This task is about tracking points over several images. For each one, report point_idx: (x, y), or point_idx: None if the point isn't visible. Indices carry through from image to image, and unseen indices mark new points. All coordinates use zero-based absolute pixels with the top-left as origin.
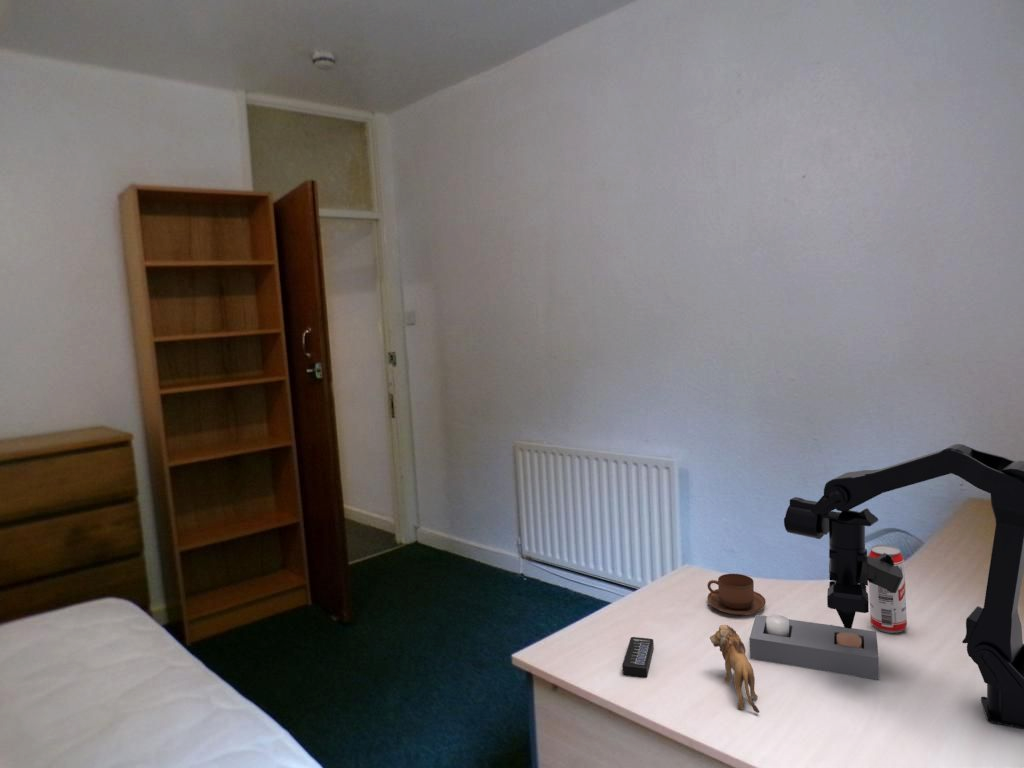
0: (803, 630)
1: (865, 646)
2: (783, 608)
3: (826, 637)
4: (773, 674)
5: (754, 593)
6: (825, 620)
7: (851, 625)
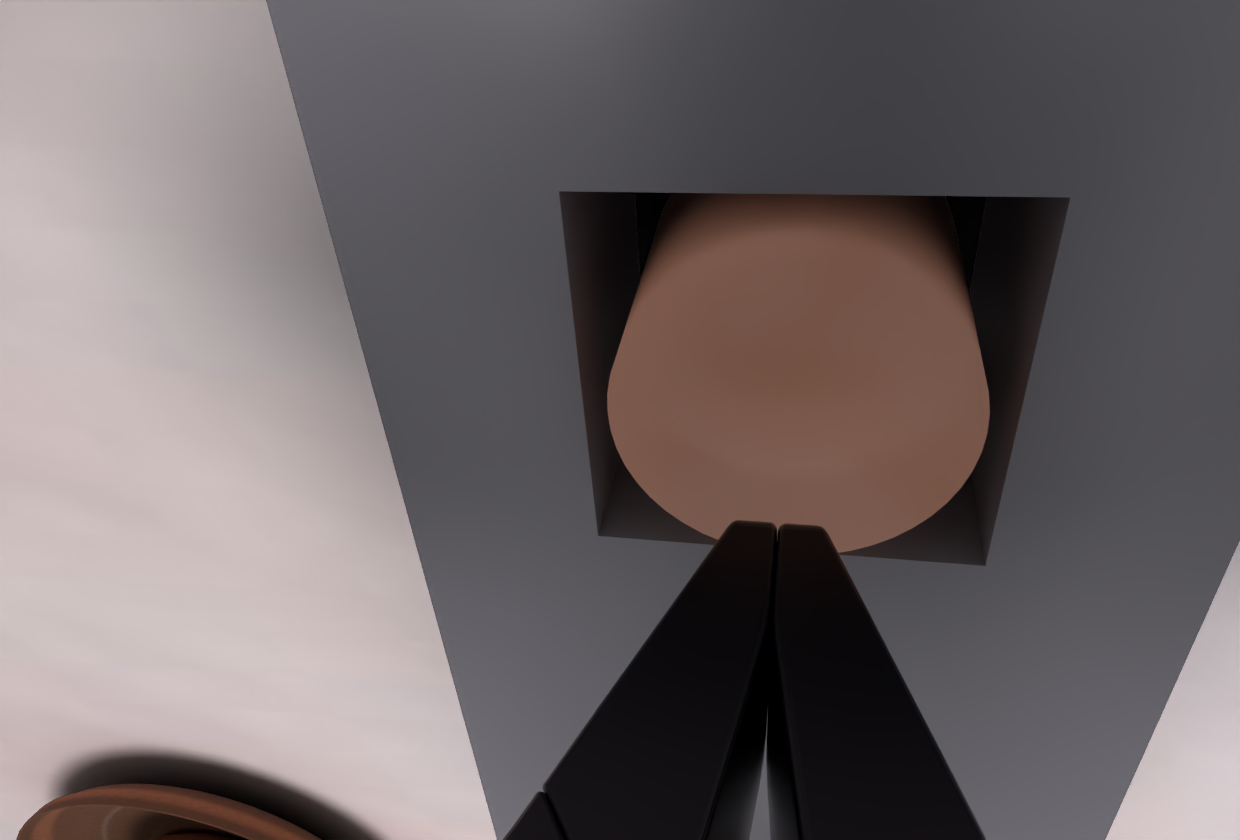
0: None
1: (971, 176)
2: (51, 662)
3: None
4: (1234, 781)
5: (33, 829)
6: (8, 412)
7: (850, 581)
